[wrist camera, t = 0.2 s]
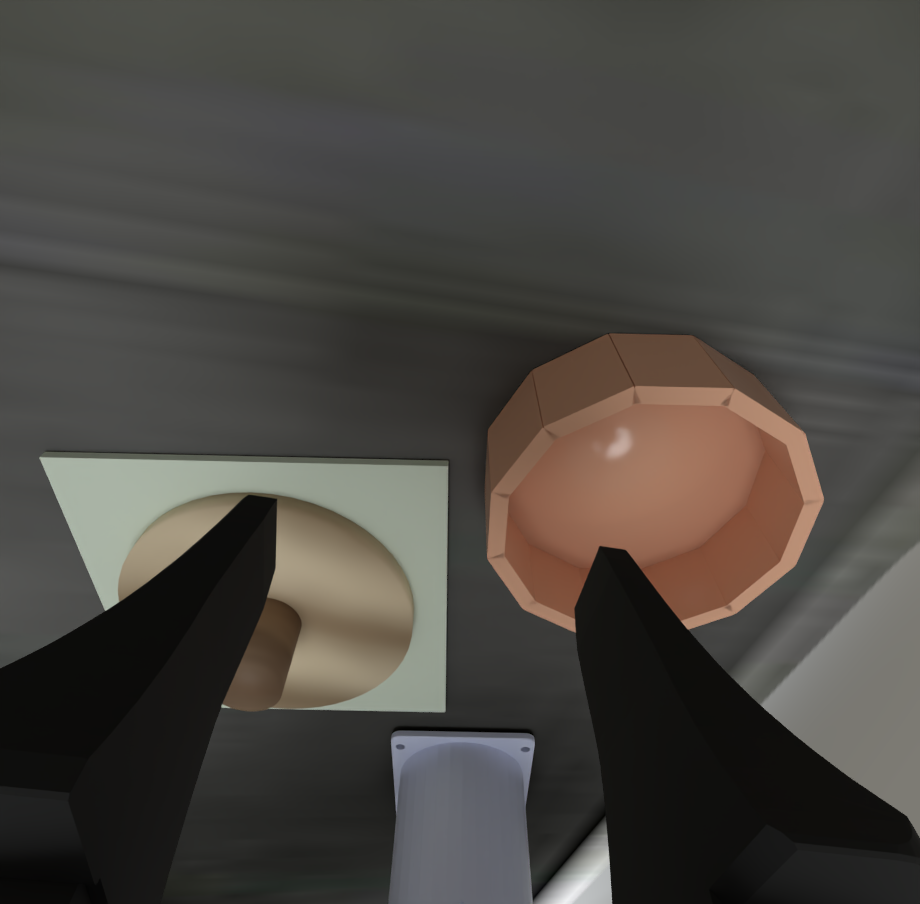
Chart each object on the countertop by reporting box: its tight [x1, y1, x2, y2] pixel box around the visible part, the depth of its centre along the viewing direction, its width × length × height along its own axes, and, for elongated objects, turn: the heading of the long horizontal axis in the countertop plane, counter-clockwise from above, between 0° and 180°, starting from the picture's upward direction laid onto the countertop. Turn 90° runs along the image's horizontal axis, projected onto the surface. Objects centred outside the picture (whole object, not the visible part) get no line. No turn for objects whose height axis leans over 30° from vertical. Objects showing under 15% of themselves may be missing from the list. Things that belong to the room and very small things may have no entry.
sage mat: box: [39, 452, 448, 712], centre depth 29 cm, size 16×16×1 cm
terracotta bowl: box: [485, 333, 824, 633], centre depth 23 cm, size 11×11×4 cm
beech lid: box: [118, 492, 414, 711], centre depth 27 cm, size 13×13×4 cm
